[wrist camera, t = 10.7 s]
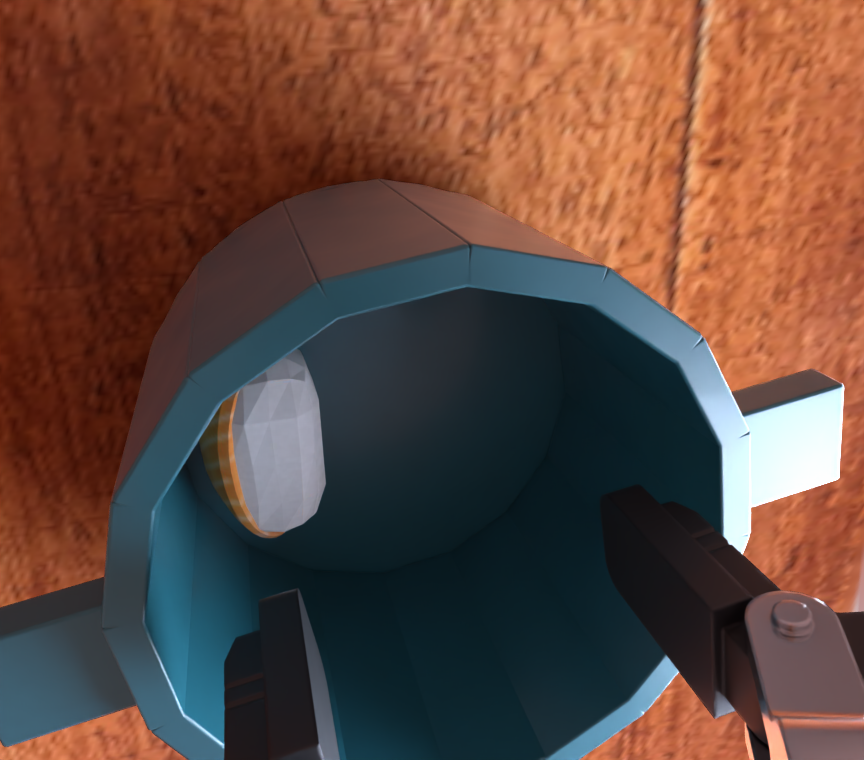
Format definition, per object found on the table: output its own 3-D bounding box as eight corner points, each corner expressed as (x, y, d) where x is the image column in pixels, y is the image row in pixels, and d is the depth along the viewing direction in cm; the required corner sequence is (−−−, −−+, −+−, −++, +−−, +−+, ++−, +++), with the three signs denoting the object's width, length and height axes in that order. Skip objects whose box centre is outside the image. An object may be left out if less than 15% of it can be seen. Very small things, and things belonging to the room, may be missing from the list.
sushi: (320, 500, 22) (215, 516, 21) (302, 291, 20) (180, 302, 19) (334, 554, 20) (216, 575, 19) (315, 325, 17) (177, 340, 16)
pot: (-40, 268, 18) (-234, 416, 10) (644, 114, 21) (890, 140, 13) (137, 656, 23) (94, 947, 15) (666, 491, 26) (851, 668, 18)
